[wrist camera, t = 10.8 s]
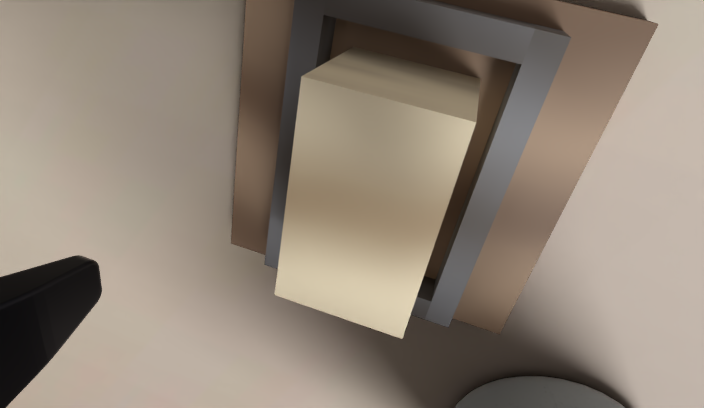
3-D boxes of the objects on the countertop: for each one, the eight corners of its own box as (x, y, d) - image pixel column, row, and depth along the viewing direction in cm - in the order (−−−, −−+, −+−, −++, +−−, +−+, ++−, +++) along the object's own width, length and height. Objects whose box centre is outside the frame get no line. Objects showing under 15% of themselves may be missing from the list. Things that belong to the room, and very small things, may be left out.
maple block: (422, 254, 19) (402, 339, 14) (322, 223, 19) (274, 295, 15) (480, 78, 15) (476, 122, 11) (353, 46, 16) (301, 76, 11)
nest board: (263, -67, 16) (227, -73, 13) (647, 20, 14) (677, 29, 12) (241, 232, 22) (214, 260, 20) (499, 319, 20) (500, 360, 18)
